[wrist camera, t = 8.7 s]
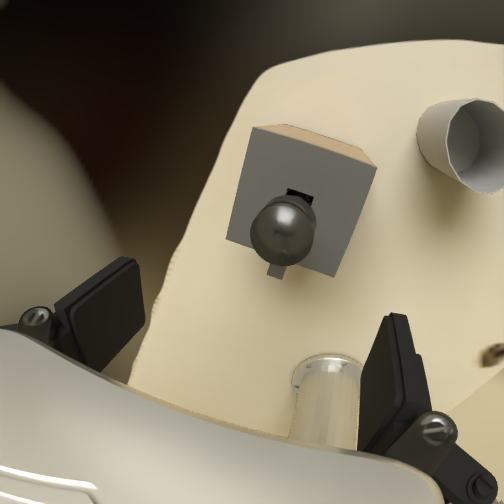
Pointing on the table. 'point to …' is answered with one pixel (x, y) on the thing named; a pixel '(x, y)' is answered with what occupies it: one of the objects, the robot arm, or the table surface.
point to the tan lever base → (303, 188)
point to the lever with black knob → (284, 229)
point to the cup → (465, 142)
